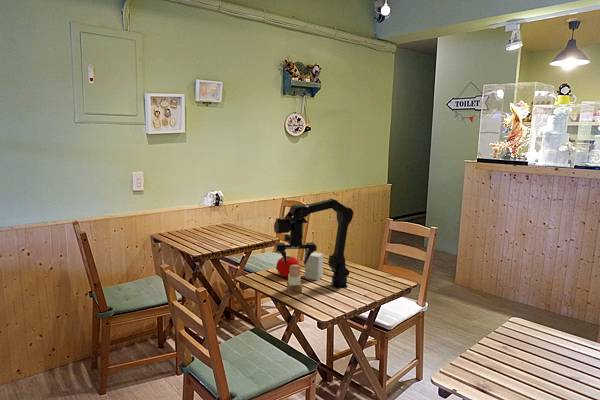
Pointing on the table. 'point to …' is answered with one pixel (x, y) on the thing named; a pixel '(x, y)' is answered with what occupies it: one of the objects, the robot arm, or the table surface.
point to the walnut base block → (294, 289)
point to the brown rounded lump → (294, 270)
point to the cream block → (294, 280)
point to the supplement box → (314, 266)
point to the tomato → (285, 269)
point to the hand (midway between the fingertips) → (295, 264)
